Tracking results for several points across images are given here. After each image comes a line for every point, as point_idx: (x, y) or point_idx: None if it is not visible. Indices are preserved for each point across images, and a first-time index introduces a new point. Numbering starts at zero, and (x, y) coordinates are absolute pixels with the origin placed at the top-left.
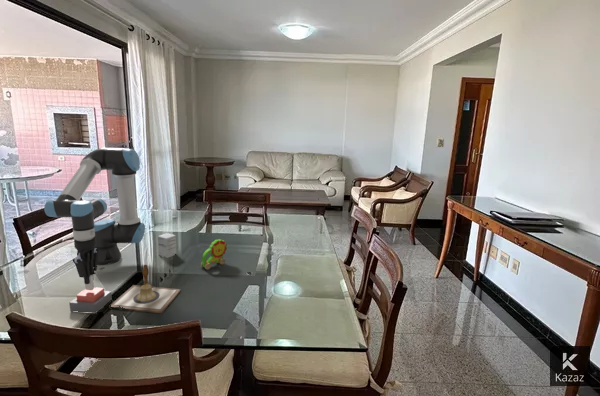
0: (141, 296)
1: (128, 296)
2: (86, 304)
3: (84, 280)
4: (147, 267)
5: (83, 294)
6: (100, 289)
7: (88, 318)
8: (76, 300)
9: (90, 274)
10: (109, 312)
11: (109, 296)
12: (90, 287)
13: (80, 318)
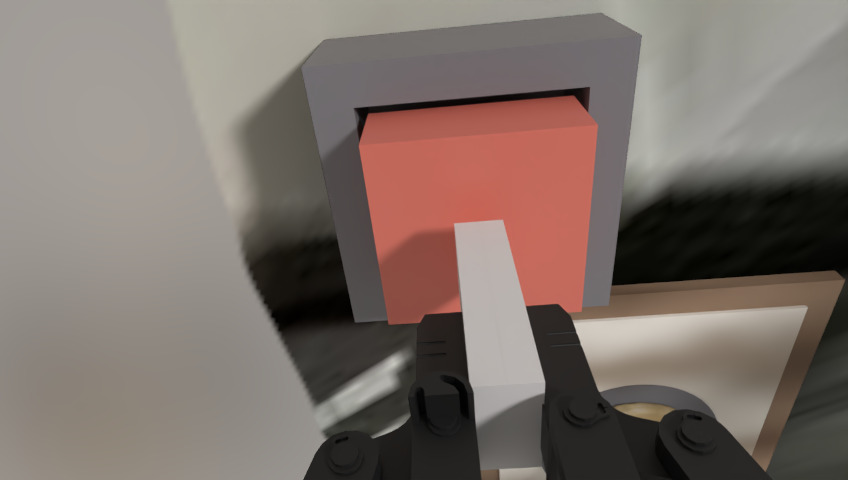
0: None
1: (627, 351)
2: (341, 254)
3: (418, 365)
4: None
5: (399, 212)
6: (547, 300)
7: (304, 254)
8: (372, 103)
9: (543, 443)
10: (416, 330)
11: None
12: (460, 307)
13: (280, 201)
